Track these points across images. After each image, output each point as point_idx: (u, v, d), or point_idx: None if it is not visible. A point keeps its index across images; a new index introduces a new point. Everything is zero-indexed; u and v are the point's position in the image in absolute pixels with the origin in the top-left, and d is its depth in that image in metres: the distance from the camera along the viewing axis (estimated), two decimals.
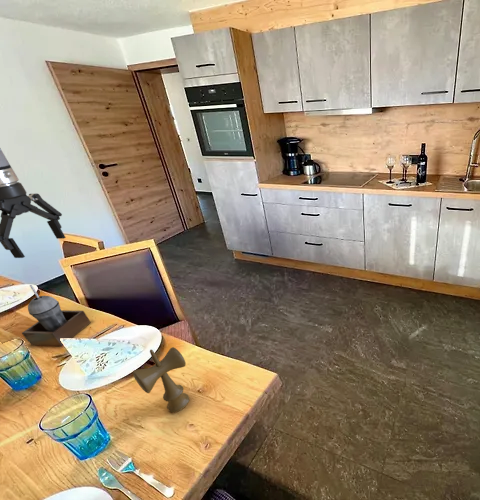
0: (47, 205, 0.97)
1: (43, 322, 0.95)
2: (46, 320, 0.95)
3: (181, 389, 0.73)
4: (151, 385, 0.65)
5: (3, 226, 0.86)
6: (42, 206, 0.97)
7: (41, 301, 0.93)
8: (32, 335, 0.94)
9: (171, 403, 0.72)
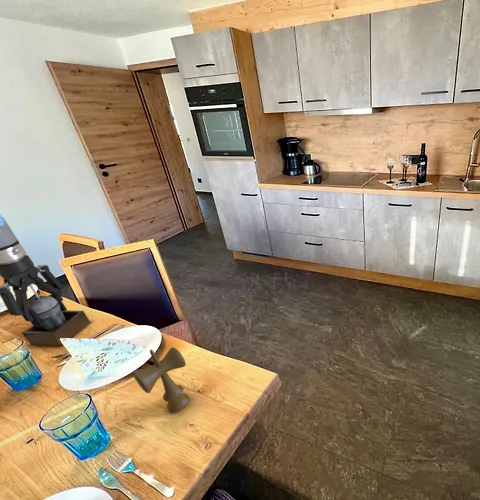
0: (52, 277, 0.97)
1: (43, 322, 0.95)
2: (46, 320, 0.95)
3: (181, 389, 0.73)
4: (151, 385, 0.65)
5: (20, 301, 0.89)
6: (46, 278, 0.96)
7: (41, 301, 0.93)
8: (32, 335, 0.94)
9: (171, 403, 0.72)
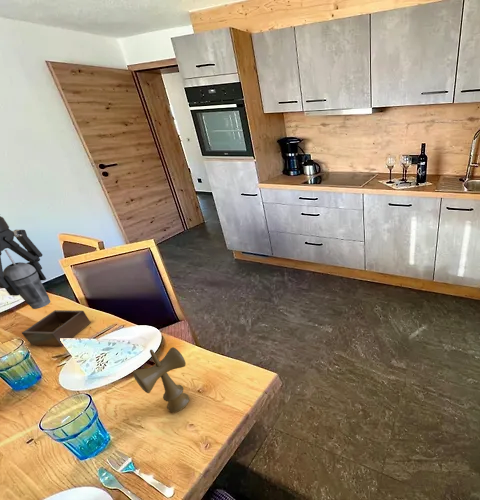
0: (30, 243, 0.90)
1: (19, 291, 0.89)
2: (23, 288, 0.88)
3: (181, 389, 0.73)
4: (151, 385, 0.65)
5: None
6: (24, 244, 0.90)
7: (17, 267, 0.87)
8: (32, 335, 0.94)
9: (171, 403, 0.72)
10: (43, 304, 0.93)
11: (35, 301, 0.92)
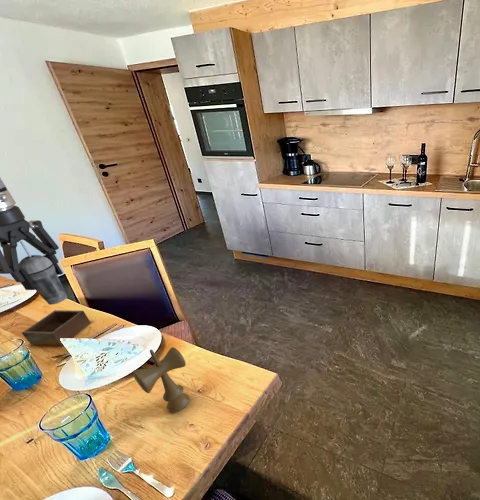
0: (46, 235, 0.86)
1: (36, 285, 0.84)
2: (39, 283, 0.84)
3: (181, 389, 0.73)
4: (151, 385, 0.65)
5: (8, 257, 0.78)
6: (40, 236, 0.85)
7: (33, 260, 0.82)
8: (32, 335, 0.94)
9: (171, 403, 0.72)
10: (60, 299, 0.89)
11: (51, 296, 0.87)
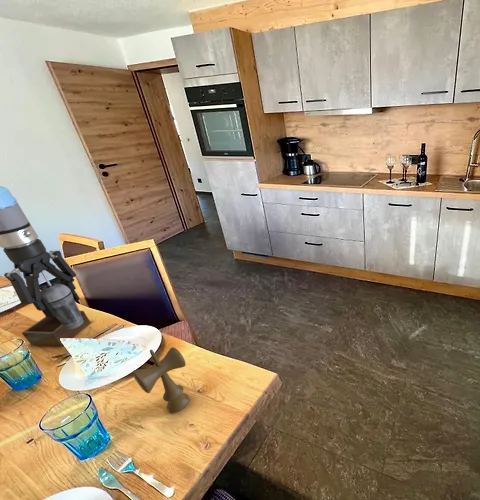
0: (64, 264, 0.90)
1: (55, 312, 0.88)
2: (59, 310, 0.88)
3: (181, 389, 0.73)
4: (151, 385, 0.65)
5: (31, 288, 0.82)
6: (59, 265, 0.90)
7: (53, 289, 0.86)
8: (32, 335, 0.94)
9: (171, 403, 0.72)
10: (77, 324, 0.93)
11: (70, 321, 0.91)
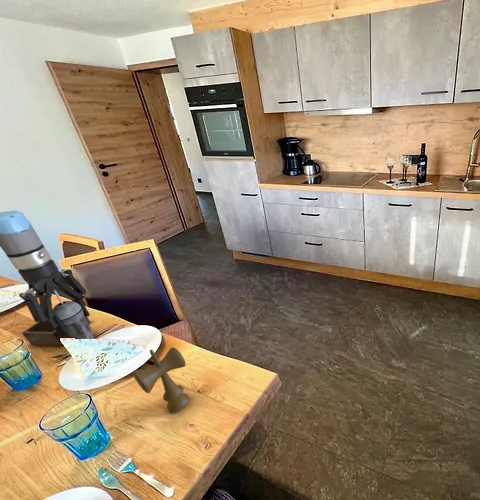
0: (75, 282, 0.93)
1: (67, 328, 0.91)
2: (70, 326, 0.91)
3: (181, 389, 0.73)
4: (151, 385, 0.65)
5: (44, 307, 0.85)
6: (70, 282, 0.93)
7: (65, 307, 0.90)
8: (32, 335, 0.94)
9: (171, 403, 0.72)
10: None
11: (80, 337, 0.95)
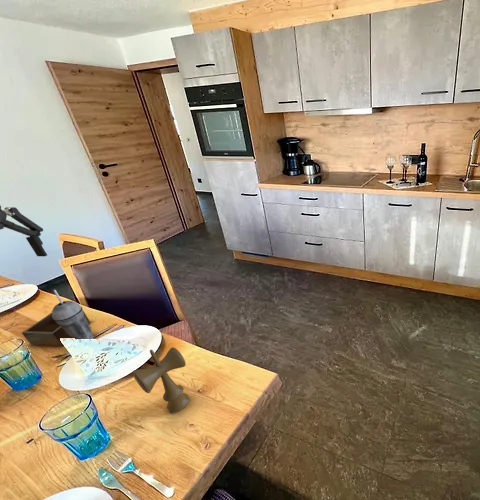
0: (26, 220, 0.86)
1: (67, 328, 0.91)
2: (70, 326, 0.91)
3: (181, 389, 0.73)
4: (151, 385, 0.65)
5: None
6: (20, 221, 0.86)
7: (65, 307, 0.90)
8: (32, 335, 0.94)
9: (171, 403, 0.72)
10: None
11: (80, 337, 0.95)
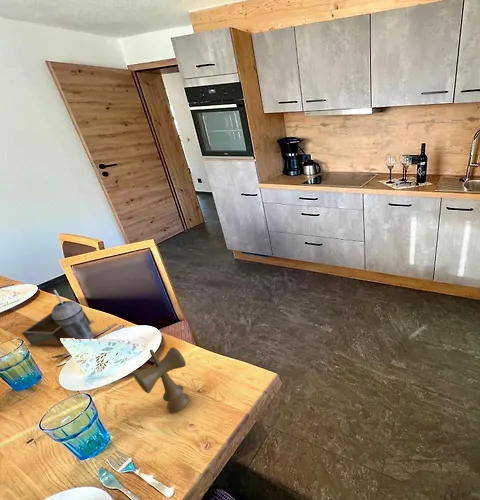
0: None
1: (67, 328, 0.91)
2: (70, 326, 0.91)
3: (181, 389, 0.73)
4: (151, 385, 0.65)
5: None
6: None
7: (65, 307, 0.90)
8: (32, 335, 0.94)
9: (171, 403, 0.72)
10: None
11: (80, 337, 0.95)
